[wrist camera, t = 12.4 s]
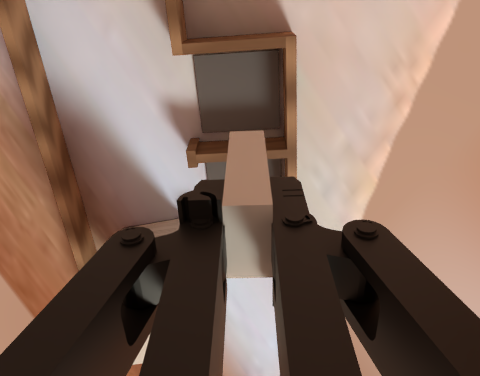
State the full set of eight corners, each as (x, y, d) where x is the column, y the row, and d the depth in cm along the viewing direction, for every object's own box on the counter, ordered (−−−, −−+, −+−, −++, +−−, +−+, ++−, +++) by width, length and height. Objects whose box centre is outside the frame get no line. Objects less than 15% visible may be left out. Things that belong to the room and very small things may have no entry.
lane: (7, -24, 39) (-17, -25, 35) (291, -47, 38) (296, -50, 34) (102, 296, 58) (93, 316, 54) (293, 287, 57) (296, 308, 53)
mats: (193, 55, 42) (193, 55, 42) (277, 49, 42) (278, 50, 41) (212, 219, 51) (212, 220, 51) (281, 215, 51) (281, 217, 51)
